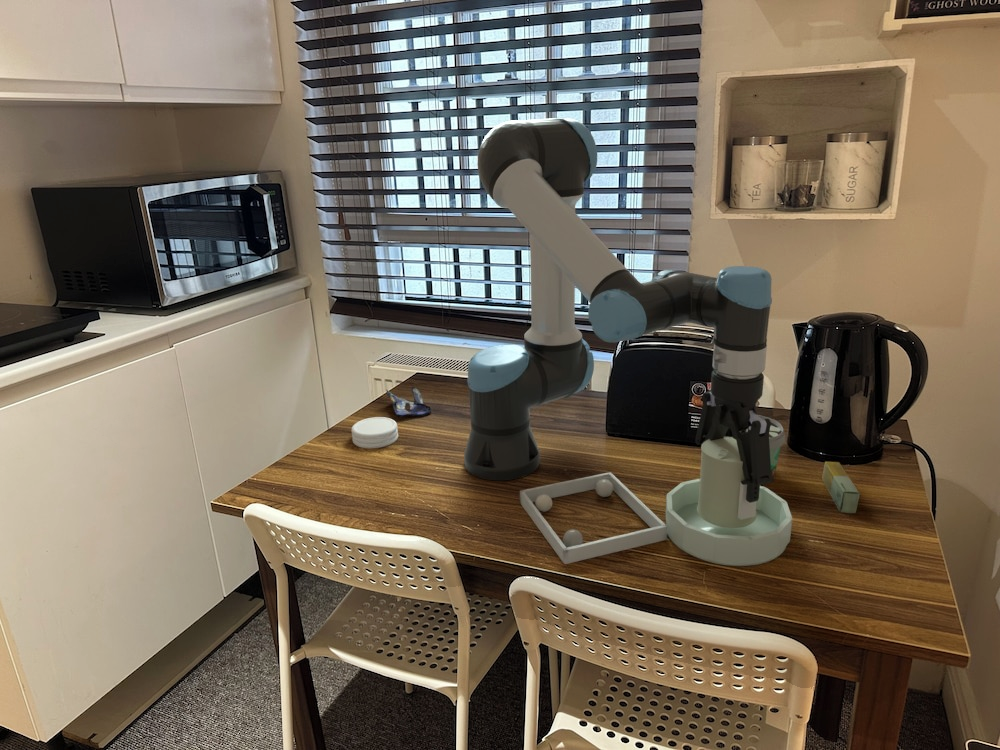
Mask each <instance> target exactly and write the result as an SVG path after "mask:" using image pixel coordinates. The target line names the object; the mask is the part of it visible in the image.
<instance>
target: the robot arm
mask: <svg viewBox="0 0 1000 750" xmlns="http://www.w3.org/2000/svg"><path fill="white" fill-rule="evenodd" d="M597 165H598V149H597V144H596V141H595V138H594V136H593V135H592V133H591V131H589V130H588V128H587V126H586V125H585V124H584V123H582V122H581V121H580V120H576V119H572V118H563V117H562V118H560V117H553V118H542V119H541V118H539V119H527V120H526V119H523V120H519V119H517V120H509V121H504V122H501V123H500V124H498V125H496V126H494V127H493V128H492V129H491V130H489V132H488V133H487V134H486V135H485V137H484V138H483V140H482V141H481V144H480V146H479V150H478V154H477V171H478V176H479V179H480V182H481V184H482V186H483V188H484V190H485V192H486V193H487V194H488V195H489V196H490V198H491V199H492V200H493V201H494V203H495V204H496V205H497V206H498V207H500V208H502V209H509V211H510V212H511V213H512V214H513V216H515V218H516V219H517V220H518V221H519V223H520V224H521V225H522V226H523V227H524V228H525V229H526V231H527V232H528V233H529V247H530V248H529V249H530V250H529V251H530V252H529V254H530V256H529V258H530V263H529V264H530V302H531V303H530V308H531V309H530V310H531V311H530V313H531V315H530V317H531V320H530V322H531V326H530V328H529V329H528V330H527V331H526V332H525V333H524V334H523V335H524V337H523V341H524V343H523V346H522V345H521V346H520V345H518V344H509V343H506V344H505V343H504V344H503V345H499V344H498V345H492V346H489V347H488V346H487V348H483V349H481V350H479V351H478V352H476V353H475V354H473V356H472V357H471V358H470V360H469V363H468V366H467V380H466V381H467V386H468V397H469V412H470V432H469V436H468V439H467V443H466V445H465V446H466V447H465V451H464V453H463V454H464V455H463V458H464V467H465V470H466V471H467V472H468V473H469V474H471V475H472V476H475V477H476V478H480V479H482V480H488V481H489V480H490V481H511V480H517V479H520V478H523V477H526V476H528V475H531V474H532V473H534V472H536V470H537V469H538V468H539V466H540V464H541V462H540V461H541V460H540V458H541V456H540V453H541V452H540V448H539V446H538V444H537V441H536V439H535V436H534V434H533V431H532V428H531V419H530V417H531V416H530V415H531V414H530V413H531V412H530V411H531V410H530V409H532V408H536V407H538V406H539V407H540V406H541V405H545V404H548V403H550V402H551V403H552V402H554V401H556V400H560V399H564V398H565V399H566V398H568V397H571V396H573V395H575V394H576V393H579V392H581V391H582V390H584V389H585V388H586V387H587V386H588V385H589V384H590V382H591V380H592V378H593V375H594V370H595V360H594V355H593V352H592V351H590V349H591V347H590V345H589V344H588V342H587V341H586V340H584V339H583V333H582V331H580V330H579V328H577V327H576V326H575V325H576V324H575V318H576V317H575V316H576V315H575V313H576V312H575V311H576V308H575V307H576V303H575V302H576V301H575V299H576V296H575V295H576V294H575V293H576V292H575V291H576V289H577V290H578V291H579V292H580V294H582V296H583V297H584V298H585V299H586V301H587V302H589V306H588V314H587V315H588V316H587V317H588V322H589V323H591V329H592V331H593V333H594V334H595V335H596V337H598V338H599V339H600V340H602V341H604V342H607V343H618V342H624V341H631V340H635V339H637V338H639V337H642V336H644V335H648V334H650V333H654V332H657V331H662V330H666V329H668V328H673V327H676V326H680V325H682V324H695V325H699V326H703V327H707V328H712V329H713V353H712V354H713V355H712V369H713V370H712V371H711V376H710V377H711V378H710V391H706V392H703V393H702V406H701V407H702V408H701V411H700V412H701V413H700V416H699V420H698V421H699V422H698V426H697V430H696V434H695V435H696V436H695V440H694V441H695V444H696V445H698V446H699V445H700V447H701V446H702V444H703V443H704V442H705V441H706V440H709V439H710V441H712V440H717V439H722V438H724V437H726V434H727V432H728V430H730V431H731V437H733V438H734V439H736V441H737V446H738V450H739V455H740V460H741V461H742V462H743V465H742V469H743V474H744V480H741V481H740V493H739V505H738V518H739V519H740V520H742V519H746V518H750V517H754V516H755V514H756V503H757V501H758V499H759V490H760V485H761V484H765V483H769V482H771V480H772V478H771V462H770V445H769V431H770V426H771V421H770V420H769V419H761V418H760V417H759V416H757V415H758V411H757V402H758V401H759V400H760V399H761V398H762V397H763V391H764V381H765V376H764V374H763V372H765V370H766V363H767V360H766V359H767V348H768V343H767V342H768V339H767V338H768V329H769V321H770V312H771V306H772V302H773V298H772V283H773V282H772V280H773V279H772V275H771V273H770V272H769V271H768V270H766V269H765V268H762V267H757V266H746V265H745V266H744V265H734V266H727V267H723V268H722V269H720V271H719V272H718V274H717V277H714V276H710V275H703V274H699V273H693V272H689V271H686V270H682V269H681V270H680V269H677V270H673V269H664V270H661V271H660V272H658V273H657V275H656V276H654V277H652V279H651V280H650V281H646V282H642V283H641V282H640V280H639V281H638V279H637V278H636V277H635V276H634V275H633V274H632V273H631V271H629V269H627V267H626V266H625V265H624V264H623V263H622V262H621V261H620V260H619V259H618V257H617V256H616V255H615V254H614V253H613V252H612V251H611V250H610V249H609V248H608V247H607V245H605V244H604V243H603V241H602V240H601V239H600V238H599V237H598V236H597V235H596V234H595V232H594V231H593V230H592V229H591V228H590V227H589V226H588V225H587V223H586V222H585V221H584V220H582V219H581V217H580V216H579V215H578V214H577V213H576V205H577V203H578V202H579V201H580V200H581V199H582V197H584V195H585V194H584V187H585V186H584V185H585V183H586V182H587V181H588V180H590V179H591V177H592V176H593V175H594V174H593V173H594V172H595V171H596V169H597ZM575 288H576V289H575ZM746 429H748V432H746ZM743 431H744V432H743ZM751 474H752V475H751ZM771 483H772V482H771ZM769 484H770V483H769Z"/></svg>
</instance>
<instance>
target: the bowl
mask: <svg viewBox="0 0 1000 750" xmlns="http://www.w3.org/2000/svg"><path fill="white" fill-rule="evenodd" d="M699 489H700V478H696V479H695V478H694V479H692V480H687V481H683V482H680V483H679V484H678V485H677V486H675V487H674V488H672V489H671V491H669V492H668V493H667V494H666V498H665V501H666V502H665V525H667V537H668V538H669V539H670V541H671V542H672V543H673V544H674V545H675V546H677V548H679V550H682V551H683V552H685V553H686V554H689V555H690V556H692V557H694V558H697V559H700V560H702V561H705V562H708V563H712V564H717V565H723V566H729V567H730V566H731V567H746V566H747V567H750V566H758V565H762V564H765V563H768V562H772V561H773V560H775V559H777V558H778V557H780V556H781V555H782V554H783V553H784V552H785V550H786V549H787V546H788V544H789V543H790V542H791V534H792V527H793V526H792V525H793V515H792V513H791V511H790V508H789V505H788V501H786V500H785V499H783V498H782V497H780V496H779V495H778V494H776V493H775V492H774V491H772V490H770V489H769V488H767V487H765V486H764V485H763V486H760V490H759V499H758V501H757V504H756V514H757V517H756V519H755V521H754V522H753V523H752V524H750V525H748V526H745V527H740V528H726V527H720V526H716V525H713V524H711V523H709V522H707V521H705V520H704V519H702V518H701V517H700V516H699V514H698V512H697V506H698V501H699Z"/></svg>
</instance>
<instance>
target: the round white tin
mask: <svg viewBox="0 0 1000 750" xmlns="http://www.w3.org/2000/svg"><path fill="white" fill-rule="evenodd" d="M351 438H352V443H353V444H354V445H355V446H356V447H358V448H361V449H369V450H372V449H373V450H374V449H380V448H381V449H382V448H385V447H387V446H390V445H392V444H394V443H395V442H396V441H397V440H398V439H399V432H398V424H397V422H396V421H395V420H394V419H392V418H389V417H384V416H375V417H373V416H372V417H368V418H364V419H361V420H359V421H357V422H355V423H354V424H353V425H352V427H351Z"/></svg>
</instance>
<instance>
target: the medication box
mask: <svg viewBox="0 0 1000 750" xmlns="http://www.w3.org/2000/svg"><path fill="white" fill-rule="evenodd" d="M821 476H822V477H821V481H822V480H823V481H822V482H824V483H823V484H824V486H825V488H826V489H828V490H827V492H828V493H829V495H830V496H831V498H832V500H833V502H834V504H835V506H836V507H837V510H838V511H839V512H840V513H842V514H843V513H845V514H856V513H857V510H858V509H857V508H858V503H859V499H860V494H861V493H860V492H859V490H858V489H857V488H856V486H855V484H854V483H853V481H852V480H851V478H850V476H849V475H848V474H847V472H846V471H845V469H844V468H843V466H842V465H841V463H840V462H839V461H824V465H823V471H822V475H821Z"/></svg>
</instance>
